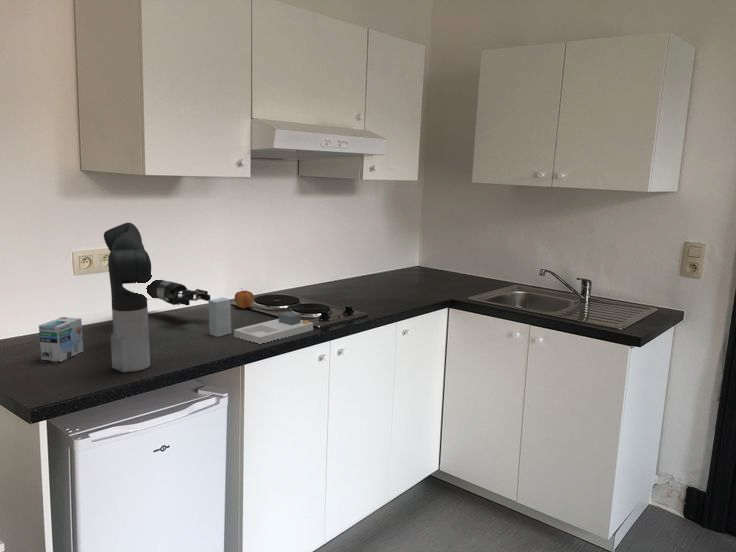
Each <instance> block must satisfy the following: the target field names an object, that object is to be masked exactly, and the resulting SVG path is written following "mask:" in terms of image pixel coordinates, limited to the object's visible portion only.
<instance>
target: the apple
mask: <svg viewBox="0 0 736 552" xmlns="http://www.w3.org/2000/svg"><path fill="white" fill-rule="evenodd" d="M234 301H235V305H236V306H237V307H238V308H240V309H243V310H245V309H247V307H248V308H249V307H251V306H252V304H253V302H254V294H253V292H251V291H248V290H243V288H242V287H241V291H237V292H235V295H234Z"/></svg>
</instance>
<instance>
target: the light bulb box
mask: <svg viewBox="0 0 736 552" xmlns="http://www.w3.org/2000/svg"><path fill="white" fill-rule="evenodd" d="M82 324H83V323H82V318H79V317H78V318H77V317H67V316H61V317H58V318H56V319H54V320H51V321H48V322H45V323H43V324H39V325H38V332H39V334H38V335H39V344H40V356H41V358H40V359H41V360H42V359H43V360H51V361H60V362H61V361H63V360H65V359H67V358H69V357H72V356H74V355H76V354H78V353H81V352H83V353H84V343H83V340H84V339H83V325H82Z"/></svg>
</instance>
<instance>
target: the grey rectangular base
mask: <svg viewBox="0 0 736 552" xmlns="http://www.w3.org/2000/svg"><path fill="white" fill-rule="evenodd" d="M301 316H302V315H301V314H299V313H296V312H293V311H283V312H280V313H278V318H277V319H273V320H268V321H264V322H259V323H256V324H251V325H247V326H243V327H240V328H236V329H233V337H234V338H236V339H239V338H240V340H242V339H243V340H242V341H246V340H247V341H246V342H249V341H251V342H250V343H252V342H255V343H258V344H257V345H259V344H262V343H265V344H267V343H266V342H269V343H271V342H270V341H272V342H274V341H273V340H276V341H278V340H277V339H279V340H282V339H281V338H283V339H286V338H290V337H293V335H294V336H297V335H299V334H300V335H301V334H305V333H307V332H312V331H314V323H313V322H311V321H310V320H302V318H301ZM289 336H290V337H289ZM285 337H286V338H285ZM255 343H254V344H255ZM262 345H263V344H262Z"/></svg>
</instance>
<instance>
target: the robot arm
mask: <svg viewBox="0 0 736 552" xmlns="http://www.w3.org/2000/svg"><path fill="white" fill-rule="evenodd" d="M103 239H104V243H105V245H106V248H107V249H108V250H109V254H108V258H107V266H108V274H109V276H108V277H109V282H110V283H109V285H110V292H111V294H110V295H111V313H112V314H111V315H112V331H113V332H112V334H111V335H110V353H111V367H112V369H114V370H116V371H118V372H121V373H127V372H128V373H129V372H138V371H142V370H145V369H147V368H149V367H150V366H151V354H150V353H151V352H150V333H149V311H148V299H147V298H146V297H145V296H144V295H142V294H138V293H134V291H131V290H129V289H126V288H125V287H124V286H123V285H126V284H127V285H128V284H136V282H137V283H146V282H148V281H149V280H150V279H151V277H152V275H151V271H152V262H151V258H150V255H149V254H148V252H147V250H145V246H144V244H143V239H142V235H141V232H140V230H139V229H138V227H137V226H136V225H135V224H134V223H132V222H124V223H122V224H119V225H117V226H113V227H112V228H110V229H107V230H105V231H104V233H103ZM146 289H147V293H148V294H149V295H150V296H151V297H152V298H155V299H154V300H156V299H159V300H162V301H163V302H165V303H167V304H169V305H173V306H179V305H184V306H190V302H191V301H194V302H196V301H197V302H198V300H202V301H206V302H208V301H209V300H211V295H210V294H209V292H208V290H204V289H200V288H197V289H195V290H192V289H188V287H186V286H185V284H183V283H178V282H175V281H169V280H164V279H161V280H155V281H153V282H152V283H151V284H150V285H148V286H147V288H146Z"/></svg>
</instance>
